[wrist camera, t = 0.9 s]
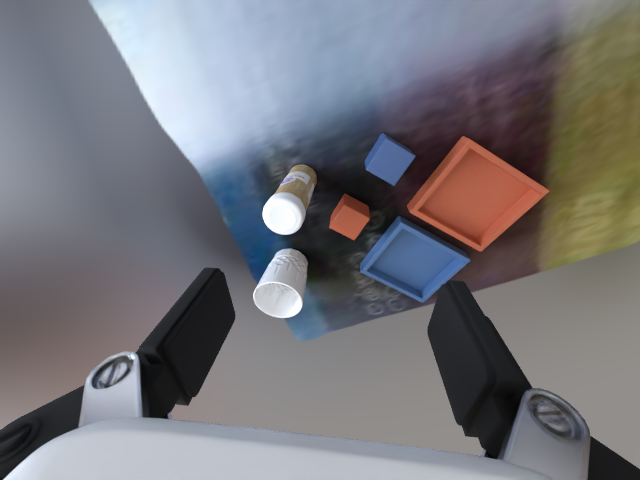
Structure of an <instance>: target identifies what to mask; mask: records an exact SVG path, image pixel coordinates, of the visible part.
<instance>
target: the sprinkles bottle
mask: <svg viewBox="0 0 640 480" xmlns="http://www.w3.org/2000/svg"><path fill="white" fill-rule="evenodd" d="M316 183H317V177H316V173H315V172H314V170H313V169H312V168H310V167H309V166H307V165H296V166H294V167H293V168H292V169H291V170H290V172H289V174H288V175H287V176H286V178H285V179H284V180H283V182H282V183H281V185H280V187H279V188H278V190H277V191H276V193H275V194H274V195H273V196H272V197H271V198H270V199H269V200H268V201H267V203H266V204H265V206H264V208H263V219H264V222H265V224H266V225H267V226H268V227H269V228H270V229H271V230H272V231H274V232H276V233H278V234H283V235H288V234H292V233H295V232H296V231H297V230H299V228H300V227H301V225H302V223H303V221H304V218H305V211H306V209H307V207H308V205H309V202H310V199H311V196H312V193H313V191H314V187H315V186H316Z"/></svg>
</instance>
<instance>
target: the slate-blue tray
mask: <svg viewBox="0 0 640 480" xmlns="http://www.w3.org/2000/svg"><path fill="white" fill-rule="evenodd" d="M470 261H471V259H470V258H469V257H468V255H467V254H466V252H465V251H463V250H461V249H459V248H458V247H456V246H454V245H452V244H450V243H449V242H447V241H445V240H443V239H441V238H439V237H438V236H436V235H434V234H432V233H430V232H429V231H427V230H425V229H423V228H421V227H420V226H418V225H416V224H414V223H412V222H410V221H409V220H407V219H405V218H403V217H401V216H400V215H399V216H398V217H397V218H396V219H395V221H394V222H393V223H392V224H391V226H390V227H389V228H388V229H387V231H386V232H385V233H384V234H383V236H382V237H381V238H380V239H379V241H378V242H377V243H376V244H375V246H374V247H373V248H372V249H371V251H370V252H369V253H368V254H367V256H366V257H365V258H364V259H363V261H362V262H361V263H360V272H361V273H363V274H365V275H367V276H369V277H371V278H373V279H375V280H377V281H379V282H381V283H383V284H385V285H387V286H389V287H391V288H394V289H396V290H398V291H400V292H402V293H404V294H406V295H408V296H410V297H412V298H414V299H416V300H418V301H420V302H422V303H423V302H424V301H426V300H427V299H428V298H429V297H430V296H431V295H432V294H433V293H435V292H436V291H437V290H438V289H439V288H440V287H441V285H442V284H445V283H446V282H447V281H448V280H449V279H450V278H452V277H453V276H454V275H455V274H456V273H457V272H458V271H460V270H461V269H462V268H463V267H464V266H465V265H466V264H467V263H469V262H470Z"/></svg>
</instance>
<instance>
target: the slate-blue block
mask: <svg viewBox="0 0 640 480" xmlns="http://www.w3.org/2000/svg"><path fill="white" fill-rule="evenodd" d="M415 157H416V156H415V155H414V154H413V153H412V151H411V150H410V149H409V148H407V147H406V146H404V145H402V144H401V143H399V142H397V141H396V140H394V139H392V138H391V137H389V136H387V135H386V134H384V133H382V134H381V135H380V137H379V139H378V140H377V142H376V143H375V145H374V147H373V148H372V150H371V151H370V153H369V155H368V156H367V158H366V160H365V166H366V170H367V171H369V172H371V173H372V174H374V175H376V176H378V177H379V178H381V179H383V180H385V181H386V182H388V183H390V184H392V185H393V186H394V185H395V184H396V183H397V181H398V180H399V179H400V177H401V176H402V174H403V173H404V172H405V170H406V169H407V168H408V166H409V165H410V163H411V162H412V161H413V159H414V158H415Z"/></svg>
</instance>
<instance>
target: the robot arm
mask: <svg viewBox="0 0 640 480" xmlns="http://www.w3.org/2000/svg"><path fill="white" fill-rule="evenodd" d="M234 320H235V311H234V308H233V304H232V300H231V297H230V293H229V289H228V286H227V282H226V278H225V275H224V273H223V272H221V270H220V269H218V268H204V269H203V270H202V271H201V273H200V274H199V275H198V276H197V278H196V279H195V280H194V281H193V282H192V284H191V285H190V286H189V287H188V288H187V290H186V291H185V292H184V294H183V295H182V296H181V297H180V298H179V300H178V301H177V302H176V303H175V304H174V305H173V307H172V308H171V309H170V311H169V312H168V313H167V314H166V315H165V317H164V318H163V319H162V320H161V321H160V323H159V324H158V325H157V326H156V327H155V329H154V330H153V331H152V332H151V333H150V335H149V336H148V337H147V338H146V339H145V341H144V342H143V343H142V344H141V346H140V347H139V349H138V351H137V352H136V353H134V352H129V351H128V352H121V353H118V354H115V355H113V356H111V357H109V358H107V359H105V360H104V361H102V362H101V363H100V364H98V365H97V366H96V367H95V368H94V369H93V370H92V372H91V373H90V374H89V376H88V377H87V380H86V382H85V385H83V386H81V387H79V388H77V389H76V390H73V391H72V392H70V393H68V394H66V395H64V396H62V397H60V398H58V399H56V400H54V401H52V402H50V403H48V404H46V405H44V406H42V407H40V408H38V409H36V410H34V411H32V412H30V413H28V414H26V415H24V416H22V417H20V418H18V419H17V420H15V421H13V422H12V423H10V424H8V425H7V426H6V427H4V428H3V429H1V430H0V480H640V469H639V468H637V467H636V466H634V465H633V464H631V463H630V462H628V461H627V460H625V459H624V458H622V457H621V456H619V455H618V454H617V453H615V452H614V451H612V450H610V449H609V448H608V447H606V446H605V445H603V444H602V443H600V442H599V441H597V440H596V439H594V438H593V437H591V436H590V431H589V428H588V426H587V424H586V422H585V420H584V419H583V417H582V416H581V415H580V414H579V412H578V411H577V410H576V409H575V408H573V406H571V405H570V404H569V403H568V402H567V401H565V400H564V399H562V398H561V397H559V396H557V395H556V394H554V393H552V392H549V391H547V390H543V389H540V388H532V386H531V385H530V383H529V382H528V380H527V378H526V377H525V375H524V374H523V372H522V370H521V369H520V367H519V365H518V364H517V362H516V360H515V359H514V357H513V356H512V354H511V352H510V351H509V349H508V348H507V346H506V345H505V343H504V341H503V340H502V338H501V336H500V335H499V333H498V331H497V330H496V328H495V327H494V325H493V323H492V322H491V320H490V319H489V318H488V317H486V316H485V315H484V314H483V312H482V310H481V309H480V307H479V305H478V304H477V302H476V300H475V299H474V297H473V295H472V294H471V292H470V290H469V289H468V287H467V286H466V284H465V283H464V282H463V281H447V282H446V284H442V285H441V287H440V291H439V294H438V297H437V300H436V303H435V306H434V310H433V313H432V317H431V319H430V322H429V326H428V337H429V340H430V343H431V346H432V349H433V352H434V355H435V358H436V362H437V364H438V367H439V371H440V374H441V377H442V380H443V383H444V386H445V389H446V392H447V396H448V399H449V402H450V405H451V408H452V411H453V414H454V417H455V420H456V422H457V424H458V425H461V426H462V428H463V431H464V434H465V436H469V437H478V439H479V441H480V444H481V446H482V448H483V452H482V455H481V456H476V455H470V454H463V453H455V452H448V451H441V450H434V449H426V448H419V447H410V446H403V445H394V444H386V443H377V442H369V441H361V440H353V439H344V438H336V437H328V436H327V437H326V436H319V435H311V434H302V433H293V432H284V431H276V430H267V429H258V428H249V427H239V426H231V425H222V424H213V423H204V422H194V421H184V420H183V421H182V420H173V419H172V415H171V411H172V409H173V407H174V406H175V404H178V405H187V406H188V405H189V403H190V401H191V399H192V397H195V396H196V395H197V394H198V392H199V391H200V389H201V387H202V385H203V383H204V380H205V378H206V377H207V375H208V372H209V371H210V369H211V367H212V365H213V363H214V361H215V359H216V356H217V355H218V353H219V351H220V349H221V347H222V344H223V343H224V341H225V339H226V337H227V335H228V333H229V331H230V329H231V327H232V325H233V323H234Z"/></svg>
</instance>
